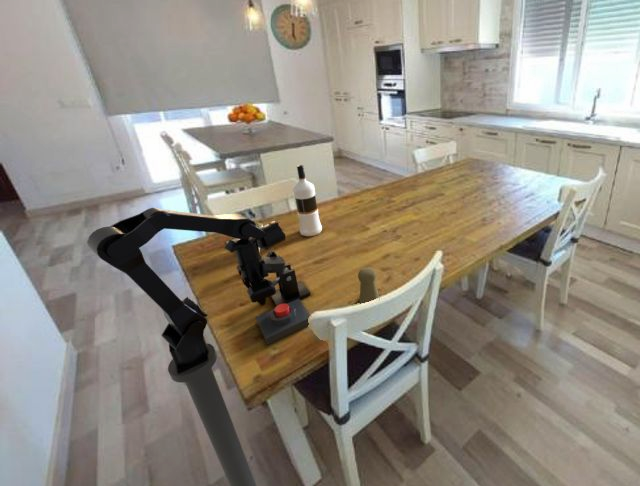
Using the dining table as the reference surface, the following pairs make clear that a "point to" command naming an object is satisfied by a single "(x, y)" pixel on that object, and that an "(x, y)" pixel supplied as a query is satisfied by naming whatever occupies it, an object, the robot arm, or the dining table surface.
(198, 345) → the robot arm
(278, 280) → the switch lever
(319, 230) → the vodka
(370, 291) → the grey brown pawn
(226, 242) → the platform
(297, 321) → the switch block
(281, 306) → the switch button
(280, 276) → the switch bracket
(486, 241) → the dining table surface
